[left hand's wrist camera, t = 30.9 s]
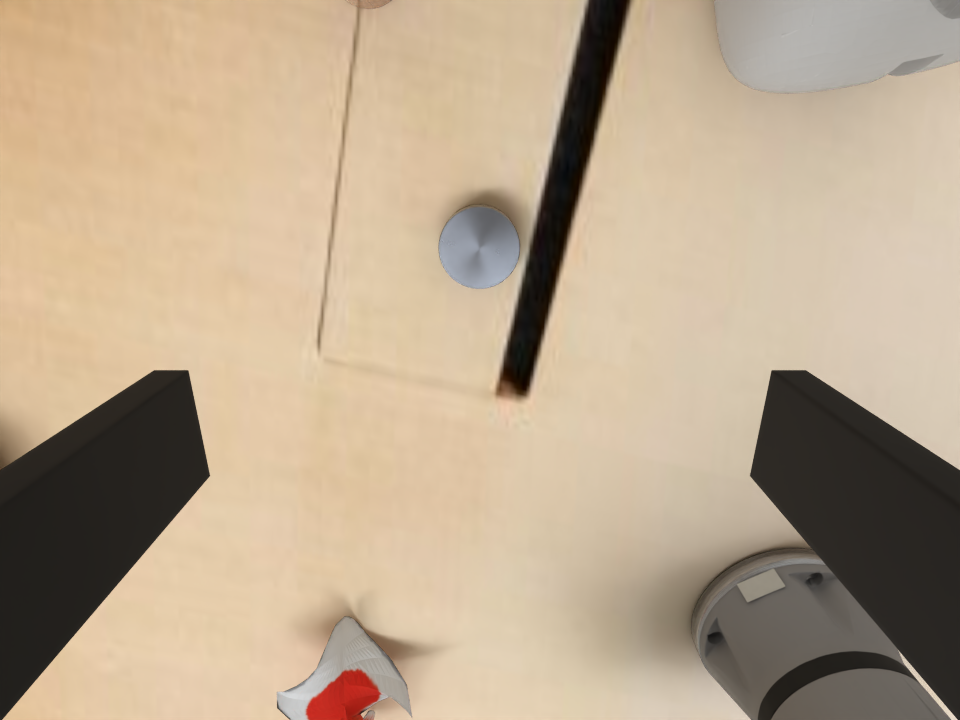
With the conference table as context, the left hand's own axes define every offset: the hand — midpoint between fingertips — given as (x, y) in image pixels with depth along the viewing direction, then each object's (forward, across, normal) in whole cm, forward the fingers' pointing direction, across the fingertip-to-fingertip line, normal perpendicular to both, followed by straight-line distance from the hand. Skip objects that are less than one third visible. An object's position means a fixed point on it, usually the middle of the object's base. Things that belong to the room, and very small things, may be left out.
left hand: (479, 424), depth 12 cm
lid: (+24, 0, 0) cm, 24 cm away
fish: (+26, +12, +39) cm, 48 cm away
